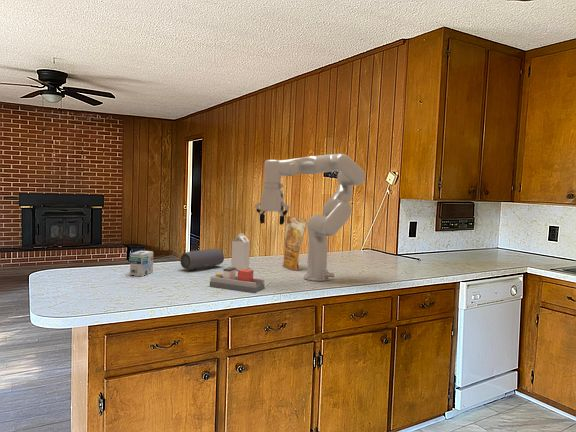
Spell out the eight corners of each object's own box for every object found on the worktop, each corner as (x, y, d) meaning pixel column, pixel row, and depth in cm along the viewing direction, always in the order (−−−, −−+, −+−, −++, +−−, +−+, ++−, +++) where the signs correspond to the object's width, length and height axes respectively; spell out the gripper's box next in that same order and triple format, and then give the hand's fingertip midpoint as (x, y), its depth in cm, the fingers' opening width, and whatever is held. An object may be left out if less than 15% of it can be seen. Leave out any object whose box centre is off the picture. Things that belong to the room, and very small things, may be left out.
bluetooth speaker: (212, 264, 252) (213, 247, 251) (224, 267, 246) (225, 249, 245) (179, 270, 234) (179, 250, 233) (190, 272, 228) (191, 253, 227)
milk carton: (231, 269, 240) (232, 233, 239) (236, 267, 247) (238, 232, 245) (243, 270, 238) (244, 234, 237) (248, 268, 245) (250, 233, 243)
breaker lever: (235, 280, 204) (235, 267, 204) (229, 282, 199) (229, 269, 199) (229, 279, 206) (229, 266, 205) (223, 282, 200) (223, 268, 200)
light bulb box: (142, 276, 214) (142, 254, 214) (129, 275, 216) (129, 253, 215) (153, 272, 225) (153, 251, 224) (140, 271, 226) (141, 250, 225)
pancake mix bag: (289, 264, 261) (291, 215, 259) (305, 271, 244) (307, 218, 242) (279, 265, 258) (281, 215, 256) (294, 271, 241) (296, 218, 239)
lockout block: (253, 283, 201) (253, 270, 200) (247, 285, 196) (248, 271, 196) (243, 282, 203) (243, 268, 202) (237, 284, 198) (237, 270, 198)
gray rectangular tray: (264, 288, 201) (264, 276, 201) (254, 292, 192) (254, 280, 192) (221, 282, 210) (221, 270, 210) (209, 286, 201) (209, 274, 200)
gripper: (292, 187, 210) (292, 224, 211) (259, 186, 216) (258, 222, 218) (286, 187, 203) (286, 225, 204) (251, 186, 209) (251, 223, 211)
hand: (271, 223), depth 211 cm, fingers open, 9 cm apart
